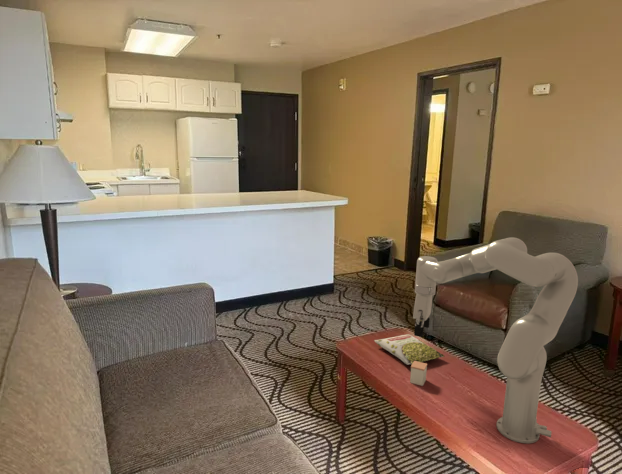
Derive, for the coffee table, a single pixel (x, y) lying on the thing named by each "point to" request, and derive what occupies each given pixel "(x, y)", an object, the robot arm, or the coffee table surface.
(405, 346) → the frozen beans
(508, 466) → the coffee table surface
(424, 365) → the salmon block
